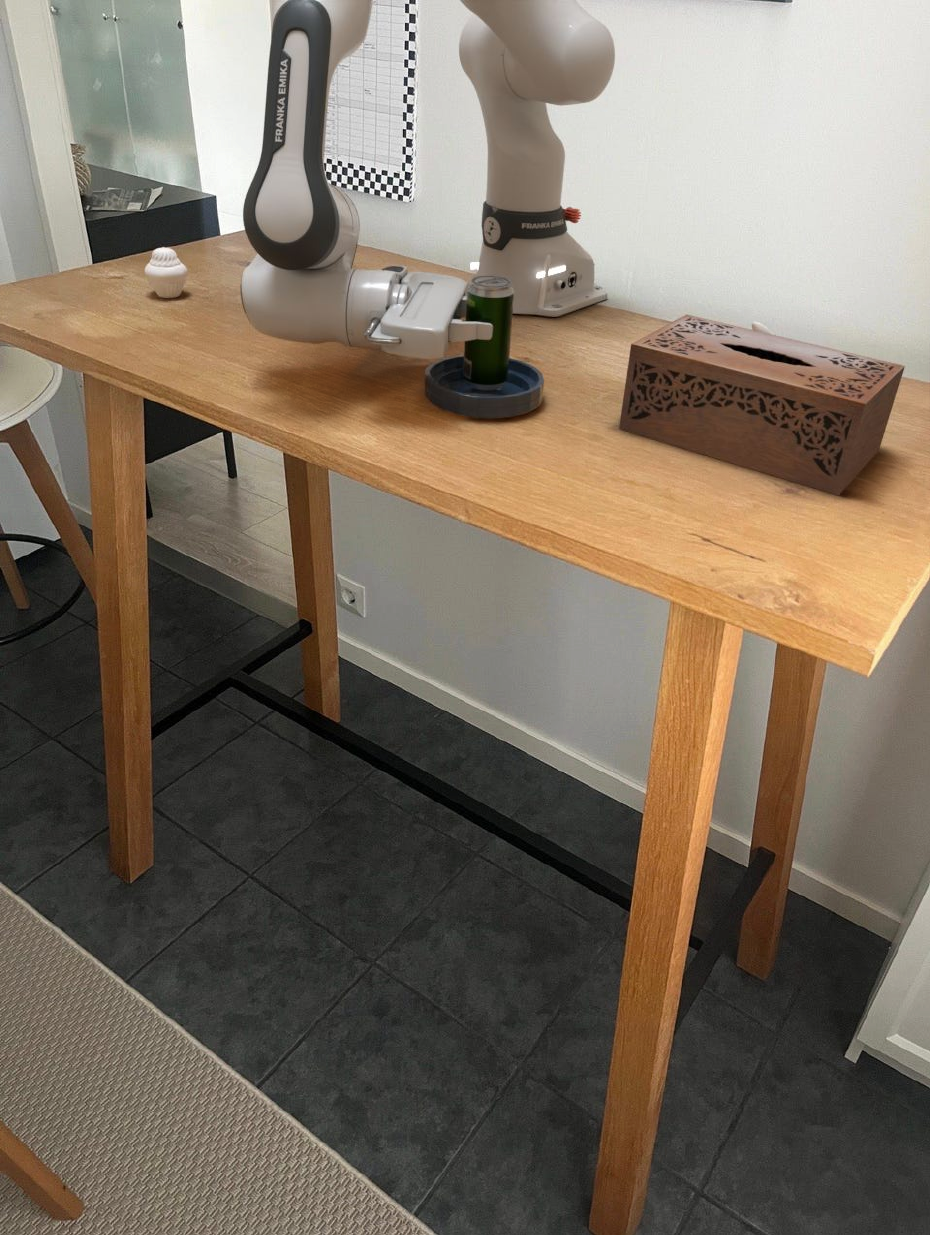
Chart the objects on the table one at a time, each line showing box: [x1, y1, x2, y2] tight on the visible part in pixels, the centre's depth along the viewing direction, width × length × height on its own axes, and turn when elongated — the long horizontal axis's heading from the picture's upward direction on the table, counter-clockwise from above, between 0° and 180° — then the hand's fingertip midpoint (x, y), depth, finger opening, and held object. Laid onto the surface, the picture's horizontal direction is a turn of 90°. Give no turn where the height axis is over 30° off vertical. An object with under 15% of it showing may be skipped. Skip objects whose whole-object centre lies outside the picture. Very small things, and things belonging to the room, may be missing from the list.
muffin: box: [144, 246, 188, 299], centre depth 146 cm, size 6×6×7 cm
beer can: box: [463, 275, 514, 390], centre depth 115 cm, size 5×5×12 cm
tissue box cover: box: [618, 314, 906, 496], centre depth 110 cm, size 26×14×10 cm, turn 55°
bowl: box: [424, 354, 545, 420], centre depth 119 cm, size 14×14×3 cm
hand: (496, 321), depth 114 cm, fingers closed on beer can, 5 cm apart
